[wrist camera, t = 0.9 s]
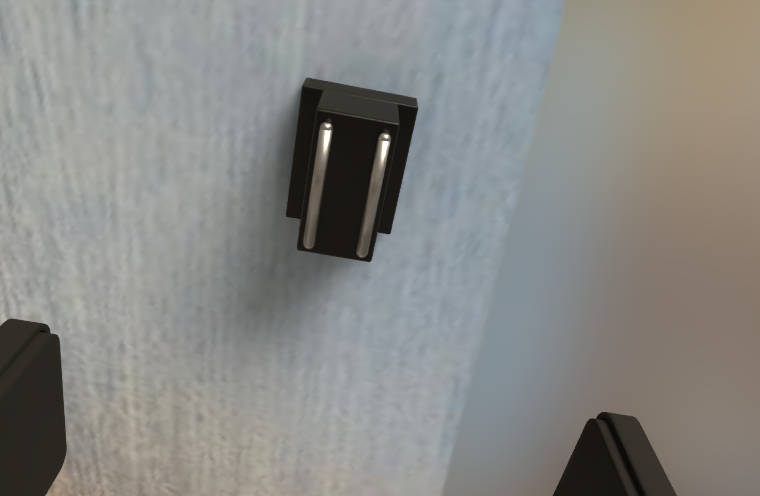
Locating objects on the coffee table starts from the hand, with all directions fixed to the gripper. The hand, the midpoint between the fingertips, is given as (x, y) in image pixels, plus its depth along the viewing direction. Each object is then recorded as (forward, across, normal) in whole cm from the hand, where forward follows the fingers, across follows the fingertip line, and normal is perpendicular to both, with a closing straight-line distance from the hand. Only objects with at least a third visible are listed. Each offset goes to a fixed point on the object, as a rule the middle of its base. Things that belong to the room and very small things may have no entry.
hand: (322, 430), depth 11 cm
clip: (+14, 0, 0) cm, 14 cm away
